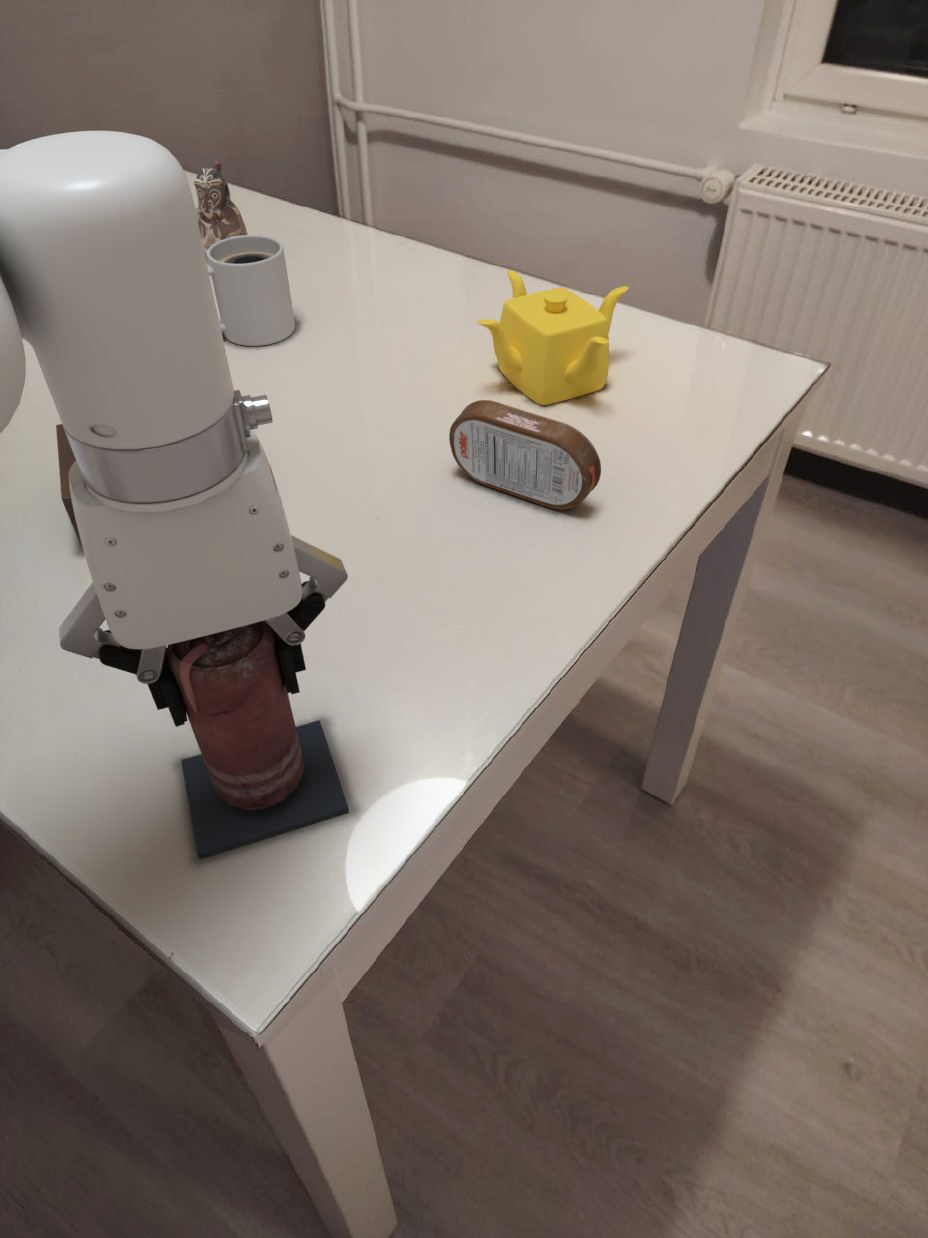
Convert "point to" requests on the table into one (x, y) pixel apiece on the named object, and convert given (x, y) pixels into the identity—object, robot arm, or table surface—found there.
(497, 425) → the tin
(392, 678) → the table surface
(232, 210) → the figurine
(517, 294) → the teapot
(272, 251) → the mug
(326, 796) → the mat
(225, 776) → the can
